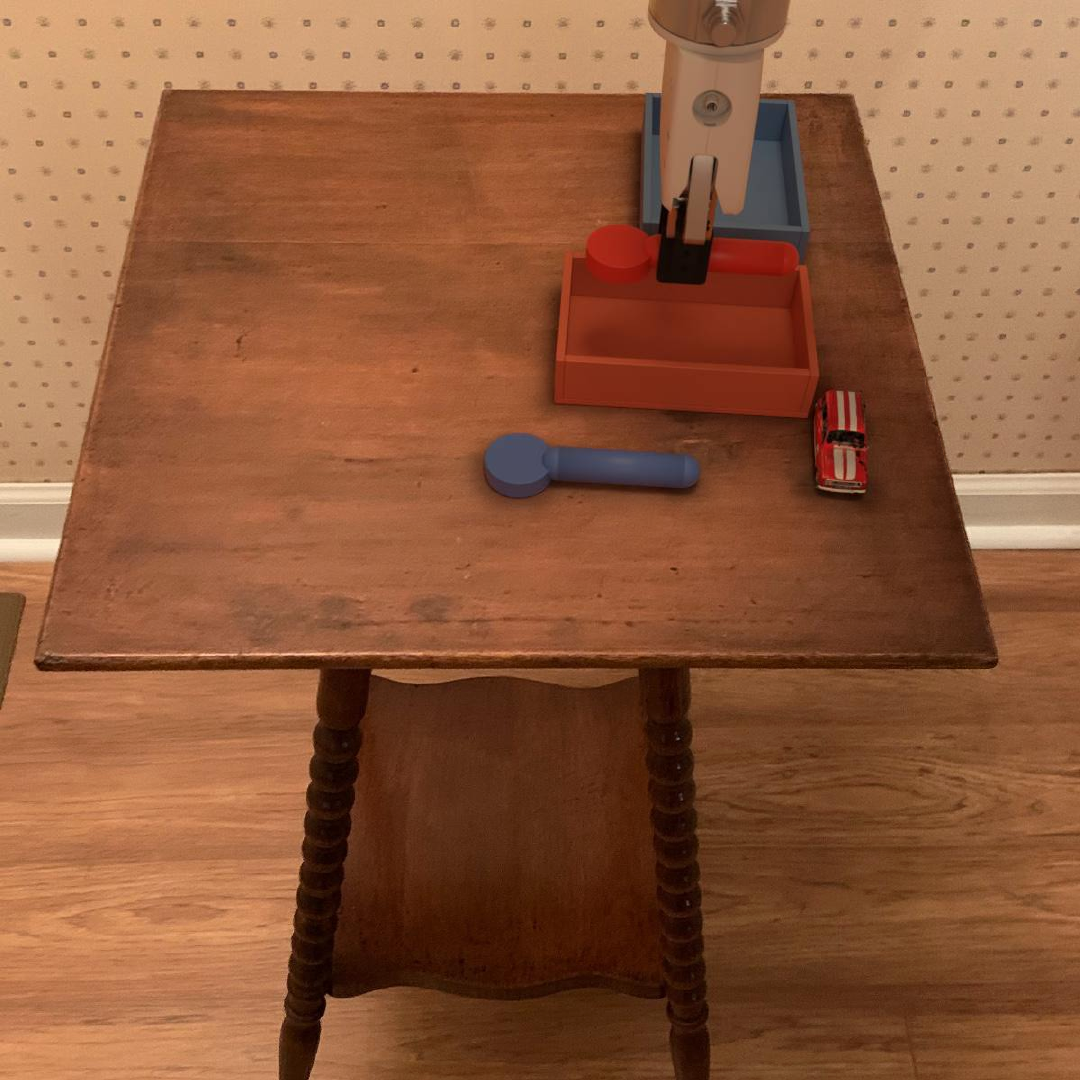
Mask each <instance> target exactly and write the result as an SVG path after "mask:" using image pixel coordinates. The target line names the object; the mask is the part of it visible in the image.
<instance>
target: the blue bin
mask: <svg viewBox="0 0 1080 1080" xmlns="http://www.w3.org/2000/svg"><path fill="white" fill-rule="evenodd" d="M661 94H662V92H645V94H644V104H643V113H642V125H641V134H640V135H641V136H640V138H641V139H640V171H639V172H640V173H639V174H640V180H639V182H640V183H639V215H638V216H639V218H638V219H639V220H638V229H640V230H642V231H643V232H645V233H646V234H647V235H648V236H649V237H650V236H652V235H656V234H658V228H659V220H660V212H661V204H662V192H661V168H660V113H661ZM796 108H797V107H796V100H794V99H778V98H777V99H776V98H759V106H758V113H757V120H756V127H755V134H754V140H753V147H752V153H751V160H750V166H749V173H748V180H747V187H746V194H745V201H744V208H743V210H742V211H741V212H740V213H739V214H738V215H736V216H733V215H732V214H723V211H722V208H721V205H720V202H719V199H717V205H716V211H715V217H714V223H713V229H712V230H713V234H714V235H713V237H716V238H733V239H749V240H765V241H782V242H788V243H790V244H792V245H793V246H794V247H795V248H796V249H797V251H798V254H799V262H798V265H804V264H803V263H804V260H805V255H806V251H807V246H808V242H809V239H810V234H811V227H810V218H809V211H808V202H807V201H808V200H807V193H806V185H805V178H804V177H805V175H804V167H803V160H802V151H801V142H800V134H799V126H798V117H797V109H796Z"/></svg>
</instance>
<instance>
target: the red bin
mask: <svg viewBox="0 0 1080 1080" xmlns="http://www.w3.org/2000/svg"><path fill="white" fill-rule="evenodd" d="M585 259H586V252H579V251H578V252H577V251H565V252H564V258H563V267H562V268H563V269H562V279H561V280H562V281H561V292H560V293H561V294H560V305H559V314H558V315H559V317H558V328H557V329H558V330H557V339H556V340H557V341H556V353H555V371H554V392H553V393H554V397H553V398H554V399H553V403H554V404H563V405H564V404H565V405H578V406H579V405H581V406H598V407H615V408H632V409H646V410H647V409H648V410H665V411H680V412H698V413H713V414H714V413H715V414H732V415H748V416H764V417H781V418H782V417H784V418H785V417H786V418H799V419H808V417H809V414H810V411H811V407H812V405H813V400H814V396H815V393H816V390H817V386H818V382H819V378H820V368H819V360H818V351H817V343H816V342H817V341H816V334H815V332H816V331H815V323H814V316H813V306H812V298H811V287H810V279H809V270H808V265H805V264H802V265H797V267H796V269H795V270H794V271H793V272H792V273H790V274H789V275H786V276H766V275H749V274H733V273H717V272H707V277H706V281H705V283H704V284H702V285H691V284H675V283H661V282H658V281H657V279H656V271H657V269H655V268H651V270H650V272H649V274H648V275H647V276H646V277H644V278H643V279H641V280H639V281H637V282H634V283H630V284H612V283H608V282H605V281H602V280H600V279H598V278H596V277H595V276H594V275H592V274H591V273H590V272H589V270H588V269H587V266H586V262H585Z"/></svg>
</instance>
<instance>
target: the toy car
mask: <svg viewBox="0 0 1080 1080" xmlns="http://www.w3.org/2000/svg"><path fill="white" fill-rule="evenodd" d="M862 390H863V389H860V390H859V391H858V392H857V391H850V390H849V391H848V390H832V389H831V390H828V391H826V392H825V393H824V394H823V395H822V397H820V398H819V399H818V400H817V403H815V404H814V407H815V411H814V412H815V414H814V416H813V420H812V421H813V423H812V426H813V436H814V437H813V442H814V443H813V446H814V460H815V461H814V463H815V468H816V472H815V475H814V479H815V483H814V485H813V486H812V488H816V489H817V490H823V491H828V492H831V493H843V494H845V493H846V494H848V493H849V494H851V495H852V494H855V493H859V494H865V493H866V491H867V488H869V487H870V486H869V485H868V480H869V471H868V470H869V458H868V456H869V455H868V449H869V448H872V447H873V444H872V445H870V447H869V445H868V443H867V434H866V433H867V432H866V418H867V416H866V404H865V401H864V398H863V397H862V395H861V394H863V391H862ZM849 433H852V434H849ZM857 452H859V456H857ZM858 484H859V485H858Z"/></svg>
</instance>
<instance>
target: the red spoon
mask: <svg viewBox="0 0 1080 1080" xmlns="http://www.w3.org/2000/svg"><path fill="white" fill-rule="evenodd" d="M660 240H661V234H656V235H652V236H650V237H649V236H648V235H647V234H646V233H645V232H643V231H642V230H640V229H639V227H635V226H632V225H629V224H609V225H604V226H601V227H599V228H597V229H596V230H594V231H592V232H591V233H590V235H589V236H588V238H587V239H586V245H585V253H586V259H585V262H586V266H587V269H588V270H589V272H590V273H591V274H592V275H594V276H595V277H596V278H598V279H600V280H602V281H605V282H608V283H612V284H630V283H634V282H637V281H639V280H641V279H643V278H644V277H646V276H647V275H648V274H649V272H650V270H651V268H655V269H657V263H658V255H659V248H660ZM798 262H799V254H798V251H797V249H796V248H795V247H794V246H793V245H792V244H790V243H788V242H782V241H765V240H749V239H733V238H716V237H713V241H712V247H711V253H710V259H709V265H708V271H707V272H717V273H733V274H749V275H766V276H786V275H789V274H790V273H792V272H793V271H794V270H795V269H796V267H797V265H798Z"/></svg>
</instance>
